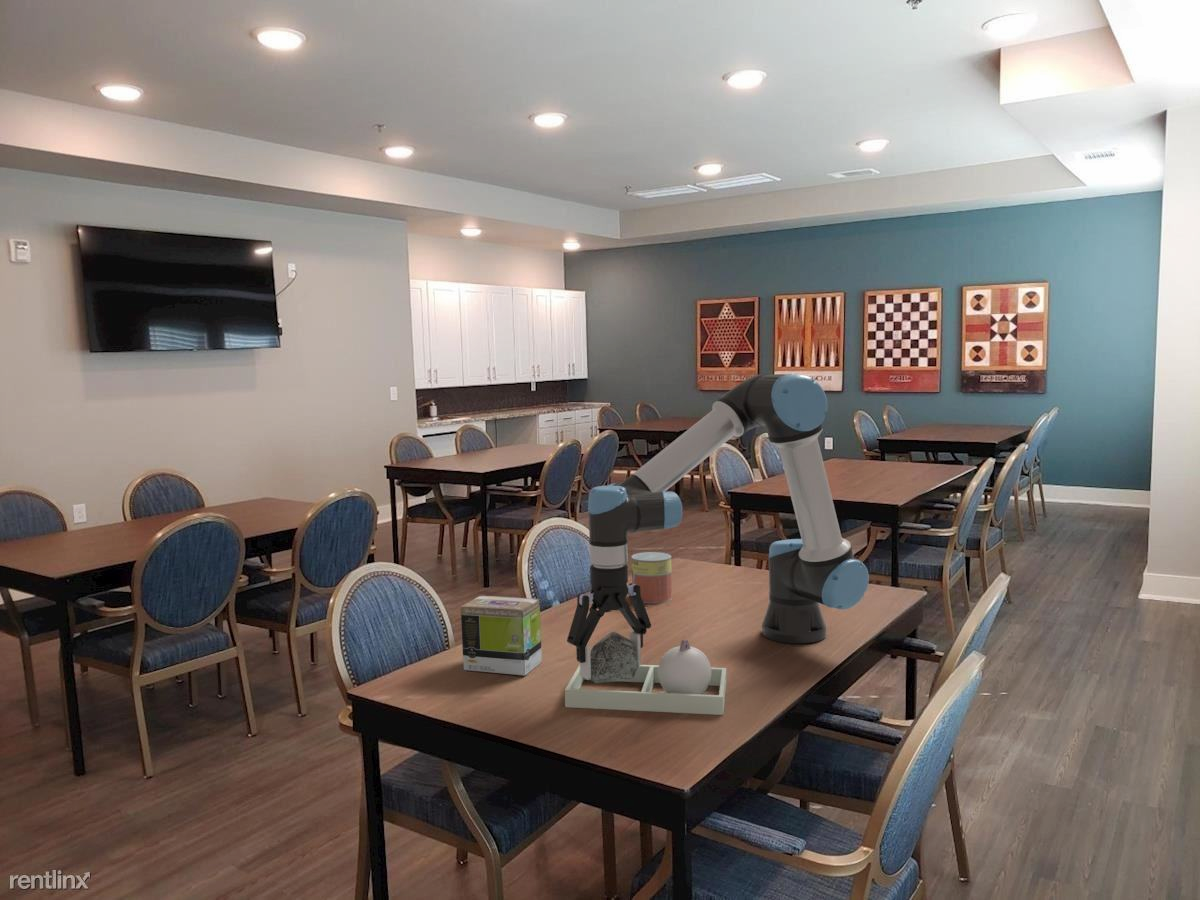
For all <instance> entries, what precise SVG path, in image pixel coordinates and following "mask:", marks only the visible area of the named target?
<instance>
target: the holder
mask: <svg viewBox="0 0 1200 900" xmlns="http://www.w3.org/2000/svg"><path fill="white" fill-rule="evenodd" d="M658 670H659V664H657V665H655V664H641V666H638V668H637V670H636V672H635V676H634V677H633V678H630V679H627V680H624V681H619V682H621V683H622V682H625V683H627V682H628V683H643V685H642V688H641V691H635V690H633V691H632V690H613V689H612V690H610V689H609V690H608V689H591V688H590V689H588V688H581V687H582V686H583V683H584V681H591V680H590V679H589V680H587V679H585V678H583V677H582V676H580V664H579V665H578V667H577V668H576V670H575V672H574V674H573V675H572V677H571V679H570V680H569V682H568V684H567V685H566V687H565V689H564V705H565V708H571V709H572V708H573V709H574V708H575V709H576V708H578V709H592V710H593V709H594V710H614V711H616V710H617V711H631V712H633V711H636V712H653V713H655V712H657V713H676V714H678V713H679V714H692V715H693V714H695V715H697V714H698V715H711V716H712V715H714V716H715V715H716V716H724V710H725V704H726V703H725V700H726V693H727V668H726V667H711V680H710V683H709V686H715V687H717V686H718V687H719V690H718V694H681V693H667V692H657V691H655V692H653V688H654V684H661V683H660V680H659V675H658Z"/></svg>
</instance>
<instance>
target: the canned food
mask: <svg viewBox="0 0 1200 900" xmlns="http://www.w3.org/2000/svg"><path fill="white" fill-rule="evenodd" d="M630 557H631V583H633V584H636V585H639V586H640V592H641V598H642V601H643V604H661V603H667V602H670V601H671V600H672V599H673V593H672V592H673V591H672V588H673V587H672V583H673V582H672V580H673V579H672V554H670V553H666V552H663V551H662V552H661V551H644V552H643V551H642V552H637V553H634V554H632V555H631V556H630Z"/></svg>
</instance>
